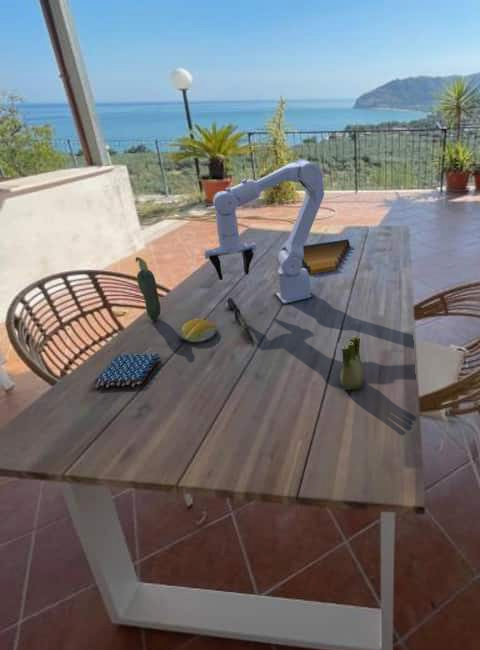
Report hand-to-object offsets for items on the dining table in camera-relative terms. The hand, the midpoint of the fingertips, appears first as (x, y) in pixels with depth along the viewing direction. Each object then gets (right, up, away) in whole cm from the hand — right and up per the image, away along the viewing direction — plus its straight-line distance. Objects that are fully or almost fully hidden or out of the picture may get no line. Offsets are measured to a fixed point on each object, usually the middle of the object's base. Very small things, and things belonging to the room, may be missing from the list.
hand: (233, 276), depth 117 cm
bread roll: (-6, -16, -11) cm, 20 cm away
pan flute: (+26, +5, +42) cm, 49 cm away
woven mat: (-16, -22, -26) cm, 38 cm away
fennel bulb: (+36, -23, -30) cm, 53 cm away
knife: (+4, -14, -6) cm, 16 cm away
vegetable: (-21, -13, -4) cm, 26 cm away
